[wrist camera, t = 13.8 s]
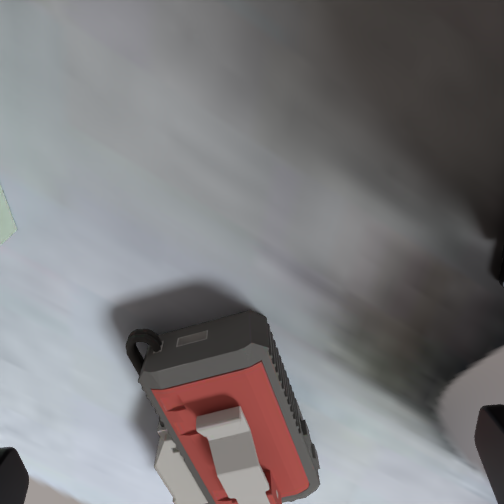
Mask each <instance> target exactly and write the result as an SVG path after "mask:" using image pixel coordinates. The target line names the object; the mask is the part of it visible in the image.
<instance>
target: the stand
mask: <svg viewBox="0 0 504 504" xmlns="http://www.w3.org/2000/svg"><path fill="white" fill-rule="evenodd" d="M16 231H17V228H16V225H15V222H14V220H13V217H12V214H11V212H10V209H9V206H8V204H7V201H6V198H5V196H4V193H3V190H2V188H1V185H0V246H1V245H2V244H3V243H4V242H5V241H6V240H7V239H8V238H9V237H10V236H11V235H12V234H13V233H14V232H16Z"/></svg>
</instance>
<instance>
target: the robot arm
mask: <svg viewBox="0 0 504 504" xmlns="http://www.w3.org/2000/svg"><path fill="white" fill-rule="evenodd" d="M502 258H503V263H502V268H501V273H500V278H499V283H500V284H501V285H502V286H503V287H504V247H503V252H502ZM474 437H475V445H476V448H477V451H478V453H479V456H480V459H481V461H482V464H483V466H484V469H485V471H486V474H487V477H488V479H489V482H490V484H491V487H492V490H493V492H494V495H495V497H496V500H497V502H498V504H504V405H501V404H499V405H487V406H483V407H482V408H481V409H480V411H479V415H478V421H477V425H476V430H475V436H474ZM28 485H29V476H28V472H27V470H26V468H25V466H24V464H23V462H22V460H21V458H20V456H19V454H18V452H17V450H16V449H14V448H13V447H4V448H0V504H24V501H25V497H26V493H27V489H28Z"/></svg>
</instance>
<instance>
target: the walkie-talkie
mask: <svg viewBox="0 0 504 504" xmlns="http://www.w3.org/2000/svg"><path fill="white" fill-rule="evenodd" d="M136 342H146V343H148V344H149V346H148V348H147V351H146V355H145V358H144V359H143V357H142V355H141V354H140V352H139V350H138V348H137V346H136ZM126 350H127V355H128V357H129V359H130V360H131V362H132V364H133V366H134V367H135V369H136V371H137V373H138V374H139V380H138V383H140V384H141V385H142V390H143V391H145V392H146V394H147V396H146V397H147V398H148V399H150V401H151V405H152V406H153V407H154V408H155V410H156V411H155V412H156V414H158V415H159V425H158V430H157V432H158V434H159V436H160V440H159V443H158V449H157V454H156V459H155V464H154V468H155V469H156V471H157V473H158V474H159V476H160V477H161V479H162V480H163V482H164V484H165V485H166V487H167V488H168V490H169V492H170V493H171V495H172V496H173V502H174V504H282V502H287V501H289V502H292V501H295V500H296V499H301V498H306V497H307V496H309V495H310V494H311V493H313V492H314V491H316V490H317V488H318V487H319V485H320V481H319V475H318V469H320V466H319V461H318V455H317V452H316V449H315V446H314V444H312V442H311V439H310V435H309V430H308V427H307V424H306V421H305V420H303V417H302V414H301V411H300V409H299V406H298V403H297V400H296V399H295V397H294V392H292V387H291V385H290V383H289V378H287V373H286V371H284V365H283V363H282V361H281V356H279V352H278V348H276V343H275V340H273V334H272V332H270V326H269V324H267V318H266V317H265V316H262V315H260V314H258V313H256V312H254V311H251V310H249V311H245V312H241V313H238V314H234V315H230V316H227V317H223V318H219V319H216V320H212V321H208V322H205V323H201V324H197V325H193V326H190V327H186V328H182V329H179V330H175V331H171V332H168V333H164V334H160V335H157V334H156V333H154V332H153V331H151V330H149V329H136V330H135V331H133V332H131V334H130V335H129V337H128V341H127V343H126Z"/></svg>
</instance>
